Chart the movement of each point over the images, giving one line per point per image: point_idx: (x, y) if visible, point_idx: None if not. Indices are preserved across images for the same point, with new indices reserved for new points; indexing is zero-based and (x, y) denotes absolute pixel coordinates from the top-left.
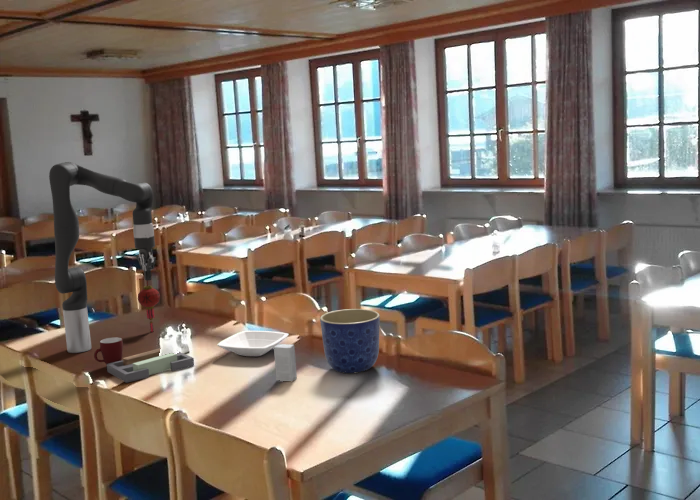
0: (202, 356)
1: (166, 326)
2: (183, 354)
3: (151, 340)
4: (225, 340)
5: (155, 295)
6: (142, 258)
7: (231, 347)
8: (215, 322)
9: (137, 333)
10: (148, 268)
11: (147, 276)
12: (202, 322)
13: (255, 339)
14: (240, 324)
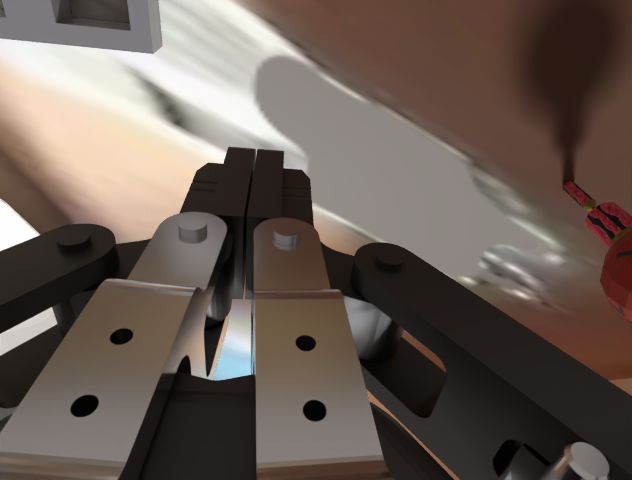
0: (74, 126)
1: (567, 250)
2: (9, 31)
3: (470, 119)
4: (11, 224)
5: (622, 295)
6: (255, 460)
7: None
8: None
9: (615, 138)
10: (22, 257)
11: (205, 184)
12: None
13: None
14: None
